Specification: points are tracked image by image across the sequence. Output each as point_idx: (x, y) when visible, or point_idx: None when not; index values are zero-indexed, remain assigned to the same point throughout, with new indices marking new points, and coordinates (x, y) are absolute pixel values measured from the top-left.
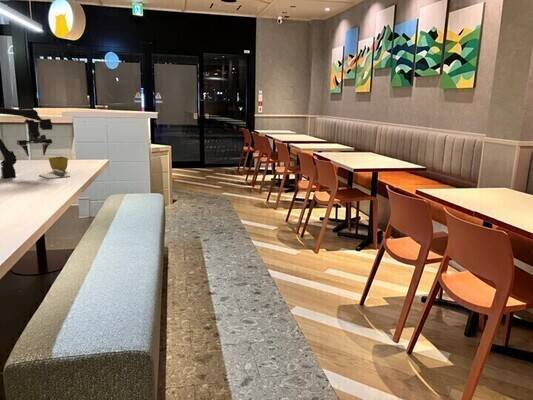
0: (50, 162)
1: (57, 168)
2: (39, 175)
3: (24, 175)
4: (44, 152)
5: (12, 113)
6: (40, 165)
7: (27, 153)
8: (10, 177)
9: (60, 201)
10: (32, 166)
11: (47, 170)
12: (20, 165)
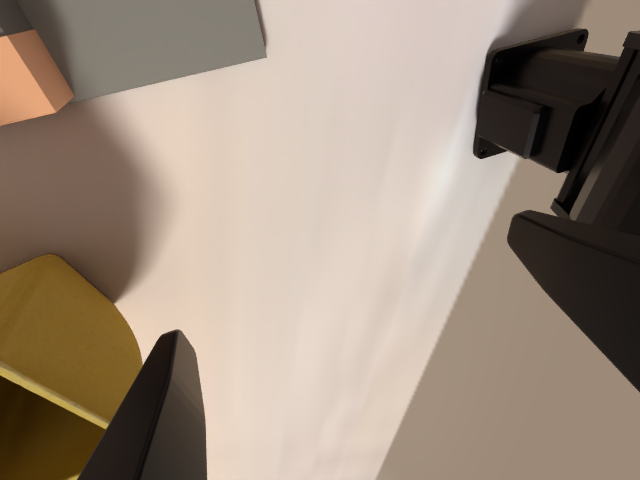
0: (127, 376)
1: (28, 263)
2: (261, 38)
3: (390, 150)
4: (150, 397)
5: None
6: (238, 473)
7: (604, 233)
8: (535, 39)
9: None
10: (281, 450)
11: None
12: (330, 462)
